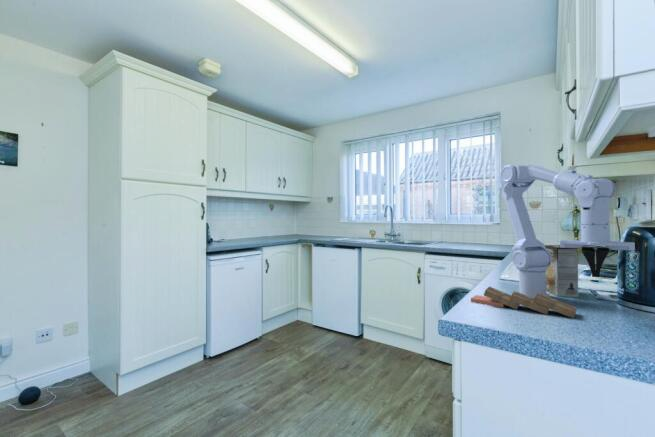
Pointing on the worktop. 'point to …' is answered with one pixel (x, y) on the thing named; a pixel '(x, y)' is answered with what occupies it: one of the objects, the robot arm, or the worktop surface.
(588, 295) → the worktop surface
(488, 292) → the domino
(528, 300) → the domino
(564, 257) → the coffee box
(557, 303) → the domino
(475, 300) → the domino
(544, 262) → the robot arm
